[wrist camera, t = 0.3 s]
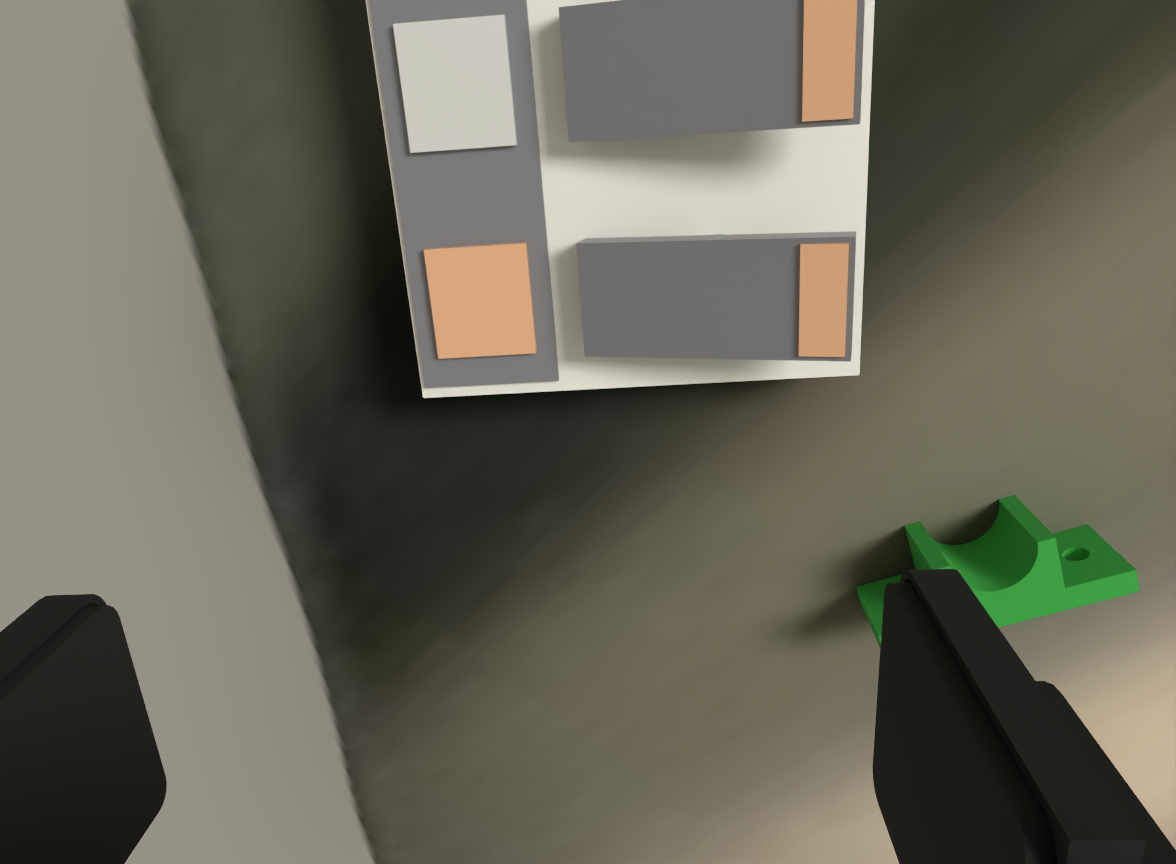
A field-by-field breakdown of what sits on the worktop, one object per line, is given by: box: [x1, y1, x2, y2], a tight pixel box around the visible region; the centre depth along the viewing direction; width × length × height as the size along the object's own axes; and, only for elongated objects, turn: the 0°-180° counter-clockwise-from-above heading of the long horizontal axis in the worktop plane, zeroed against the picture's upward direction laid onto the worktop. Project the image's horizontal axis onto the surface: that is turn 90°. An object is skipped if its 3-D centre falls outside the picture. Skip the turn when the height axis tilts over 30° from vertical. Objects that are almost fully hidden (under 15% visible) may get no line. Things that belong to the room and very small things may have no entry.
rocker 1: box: [559, 0, 865, 142], centre depth 30 cm, size 4×10×1 cm, turn 94°
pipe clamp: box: [856, 495, 1140, 648], centre depth 40 cm, size 11×4×5 cm, turn 109°
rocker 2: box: [576, 231, 856, 362], centre depth 32 cm, size 4×10×1 cm, turn 94°
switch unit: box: [365, 0, 875, 398], centre depth 33 cm, size 24×18×5 cm
